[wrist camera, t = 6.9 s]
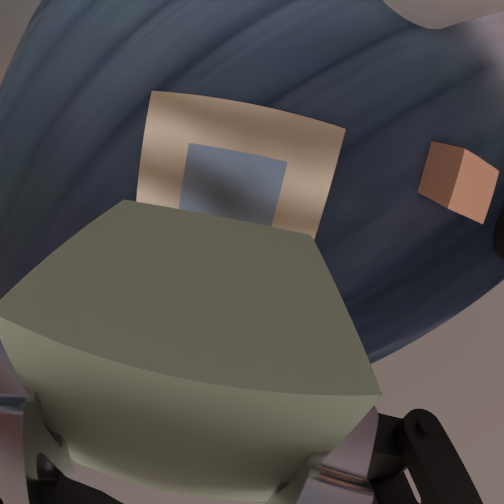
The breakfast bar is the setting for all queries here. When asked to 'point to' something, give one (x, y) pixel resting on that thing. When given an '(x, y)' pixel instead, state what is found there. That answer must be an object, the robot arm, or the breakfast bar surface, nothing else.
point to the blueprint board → (237, 161)
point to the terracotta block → (458, 180)
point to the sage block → (189, 351)
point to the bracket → (443, 11)
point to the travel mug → (499, 237)
